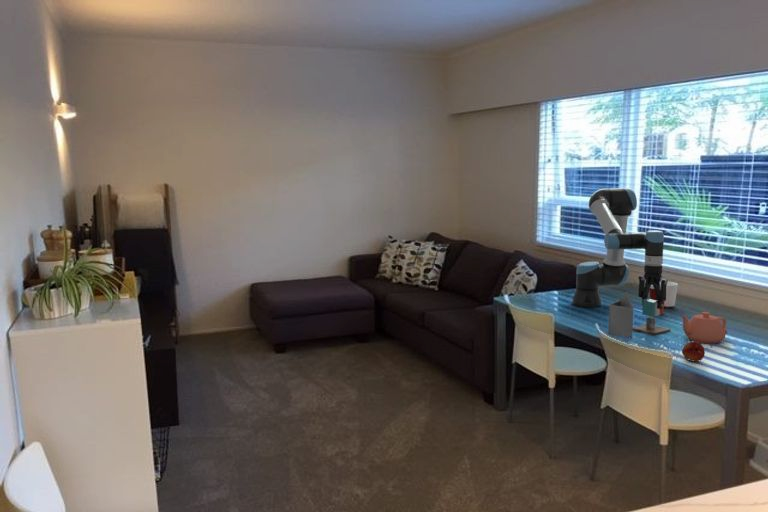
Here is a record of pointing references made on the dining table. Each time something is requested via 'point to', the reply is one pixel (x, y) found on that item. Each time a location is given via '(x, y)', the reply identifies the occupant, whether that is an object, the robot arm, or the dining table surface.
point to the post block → (650, 328)
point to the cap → (649, 307)
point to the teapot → (705, 328)
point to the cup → (670, 294)
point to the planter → (621, 317)
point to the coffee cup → (653, 297)
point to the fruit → (693, 351)
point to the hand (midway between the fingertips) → (651, 313)
